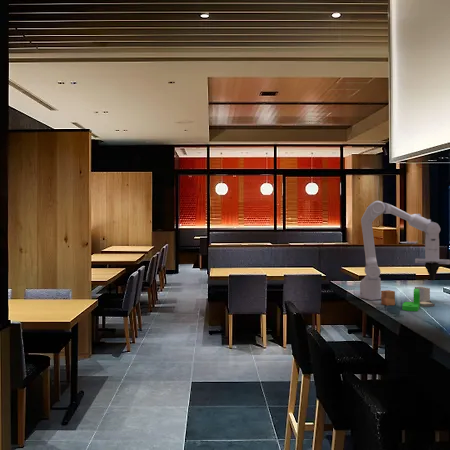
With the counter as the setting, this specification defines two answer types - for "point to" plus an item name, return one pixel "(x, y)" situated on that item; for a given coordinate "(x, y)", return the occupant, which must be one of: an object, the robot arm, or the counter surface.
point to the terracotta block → (388, 297)
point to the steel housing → (424, 294)
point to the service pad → (426, 304)
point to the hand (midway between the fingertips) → (432, 280)
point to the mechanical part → (413, 305)
